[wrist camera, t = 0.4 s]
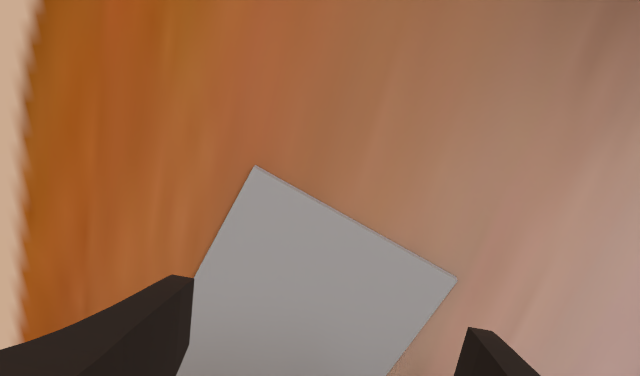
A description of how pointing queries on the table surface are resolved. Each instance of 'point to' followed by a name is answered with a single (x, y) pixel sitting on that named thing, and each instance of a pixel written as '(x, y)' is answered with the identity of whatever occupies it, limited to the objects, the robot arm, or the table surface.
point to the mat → (304, 291)
